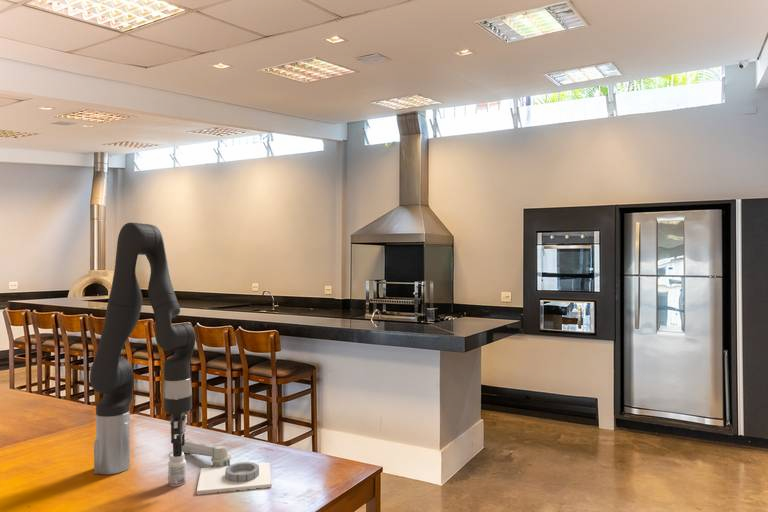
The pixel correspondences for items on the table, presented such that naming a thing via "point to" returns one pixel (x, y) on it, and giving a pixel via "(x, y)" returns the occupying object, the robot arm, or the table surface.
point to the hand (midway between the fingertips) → (179, 450)
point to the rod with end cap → (208, 452)
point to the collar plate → (223, 485)
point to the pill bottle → (177, 470)
